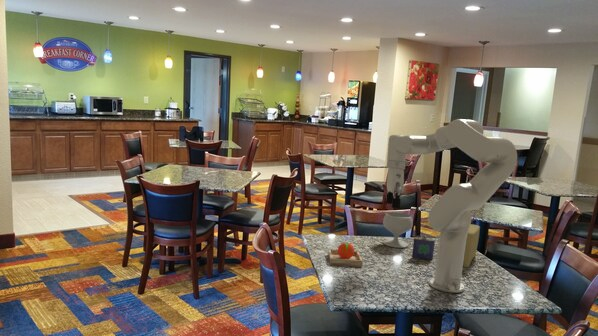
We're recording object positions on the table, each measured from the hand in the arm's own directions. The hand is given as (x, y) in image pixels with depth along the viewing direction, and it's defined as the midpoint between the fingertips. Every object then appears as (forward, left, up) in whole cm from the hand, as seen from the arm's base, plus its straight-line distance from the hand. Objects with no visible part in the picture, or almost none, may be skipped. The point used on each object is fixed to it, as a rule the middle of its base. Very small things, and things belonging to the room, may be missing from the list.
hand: (392, 205), depth 195 cm
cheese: (+12, -38, -25) cm, 47 cm away
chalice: (+28, -10, -25) cm, 39 cm away
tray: (-2, +18, -25) cm, 31 cm away
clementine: (-2, +18, -24) cm, 30 cm away
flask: (+9, -18, -25) cm, 32 cm away
